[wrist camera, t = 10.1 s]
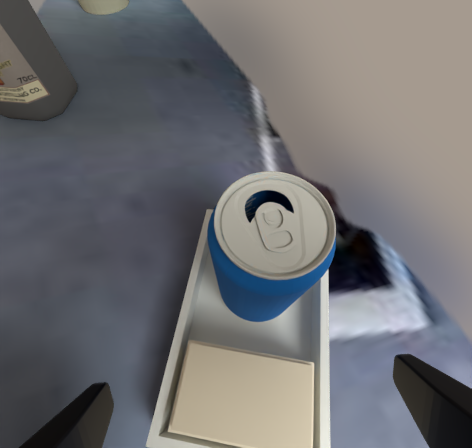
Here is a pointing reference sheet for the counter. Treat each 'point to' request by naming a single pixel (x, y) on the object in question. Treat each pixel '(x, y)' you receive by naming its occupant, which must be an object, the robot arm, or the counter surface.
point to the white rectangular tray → (244, 344)
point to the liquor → (30, 66)
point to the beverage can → (269, 243)
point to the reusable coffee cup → (103, 6)
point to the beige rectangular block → (244, 398)
